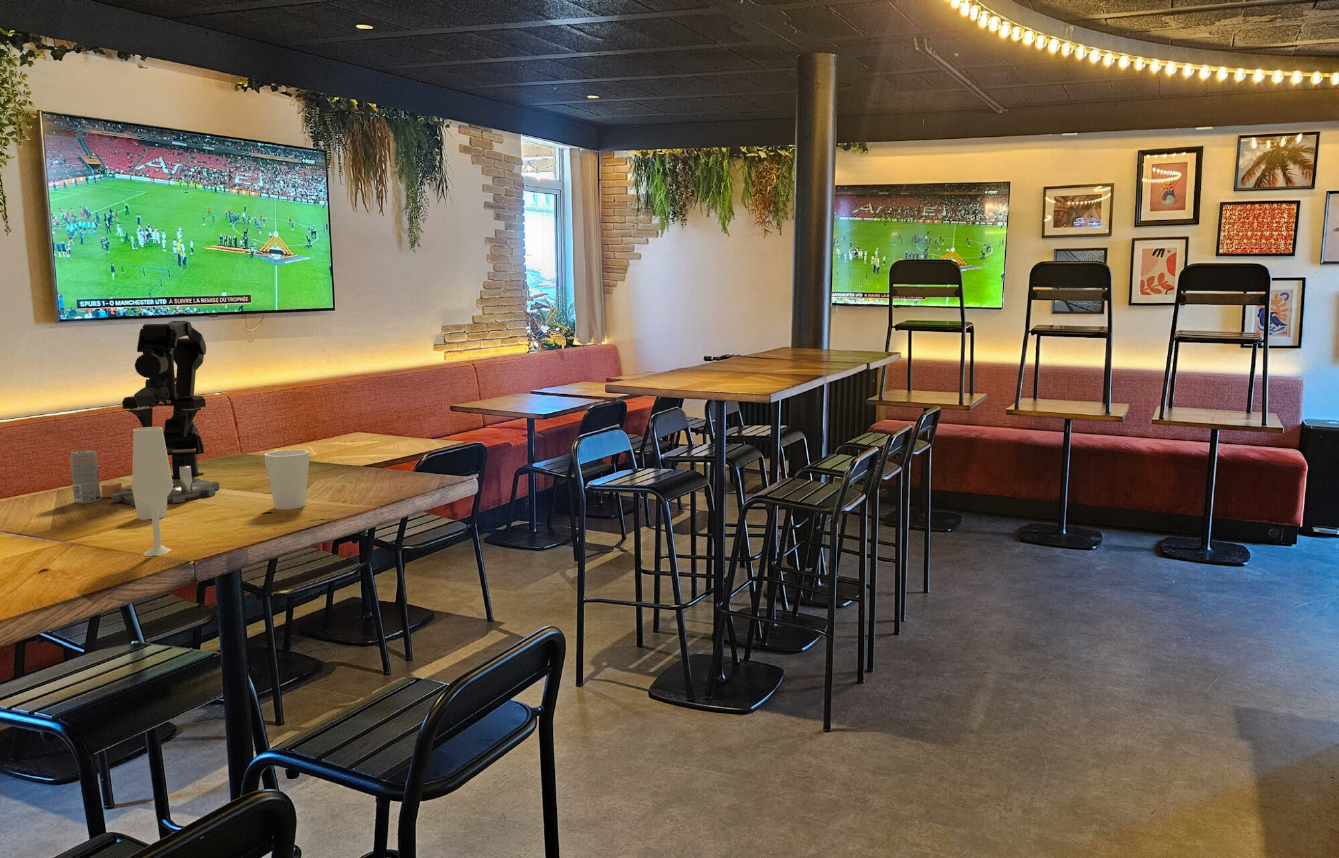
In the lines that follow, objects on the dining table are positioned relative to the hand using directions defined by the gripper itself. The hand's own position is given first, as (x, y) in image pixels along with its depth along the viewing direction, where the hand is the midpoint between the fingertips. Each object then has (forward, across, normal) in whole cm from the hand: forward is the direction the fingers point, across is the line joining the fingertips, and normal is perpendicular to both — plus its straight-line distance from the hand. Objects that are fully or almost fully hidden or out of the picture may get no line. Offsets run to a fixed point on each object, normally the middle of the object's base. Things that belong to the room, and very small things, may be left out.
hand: (166, 436), depth 242 cm
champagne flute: (+13, +36, -61) cm, 72 cm away
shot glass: (+13, +16, -32) cm, 38 cm away
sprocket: (+13, +6, -11) cm, 18 cm away
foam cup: (+13, +42, -22) cm, 49 cm away
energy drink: (+13, -10, -17) cm, 24 cm away
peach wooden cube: (+13, -8, -11) cm, 19 cm away
